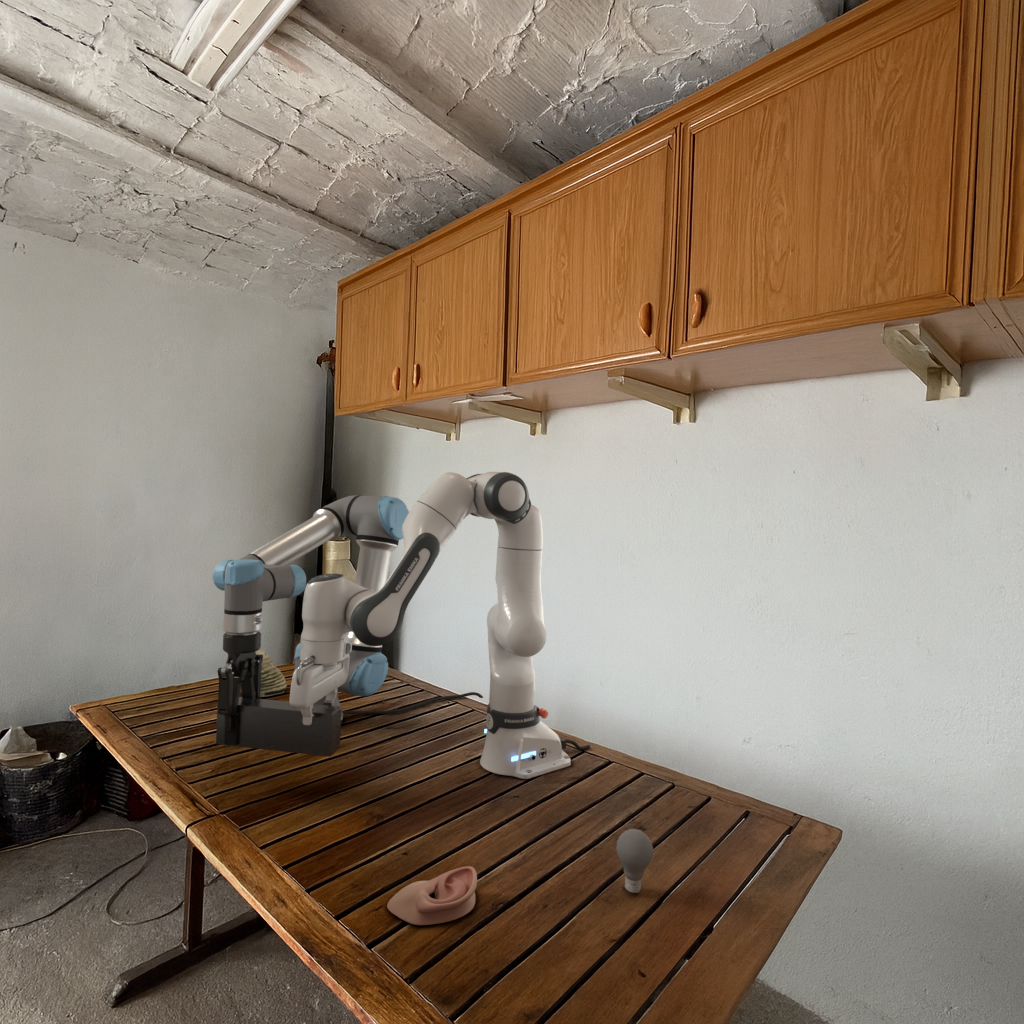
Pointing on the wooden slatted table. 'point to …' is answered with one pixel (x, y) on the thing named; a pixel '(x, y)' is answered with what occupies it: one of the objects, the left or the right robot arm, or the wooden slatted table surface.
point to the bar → (284, 727)
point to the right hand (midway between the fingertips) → (318, 716)
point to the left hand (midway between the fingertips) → (238, 739)
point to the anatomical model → (436, 898)
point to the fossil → (270, 677)
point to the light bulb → (634, 857)
